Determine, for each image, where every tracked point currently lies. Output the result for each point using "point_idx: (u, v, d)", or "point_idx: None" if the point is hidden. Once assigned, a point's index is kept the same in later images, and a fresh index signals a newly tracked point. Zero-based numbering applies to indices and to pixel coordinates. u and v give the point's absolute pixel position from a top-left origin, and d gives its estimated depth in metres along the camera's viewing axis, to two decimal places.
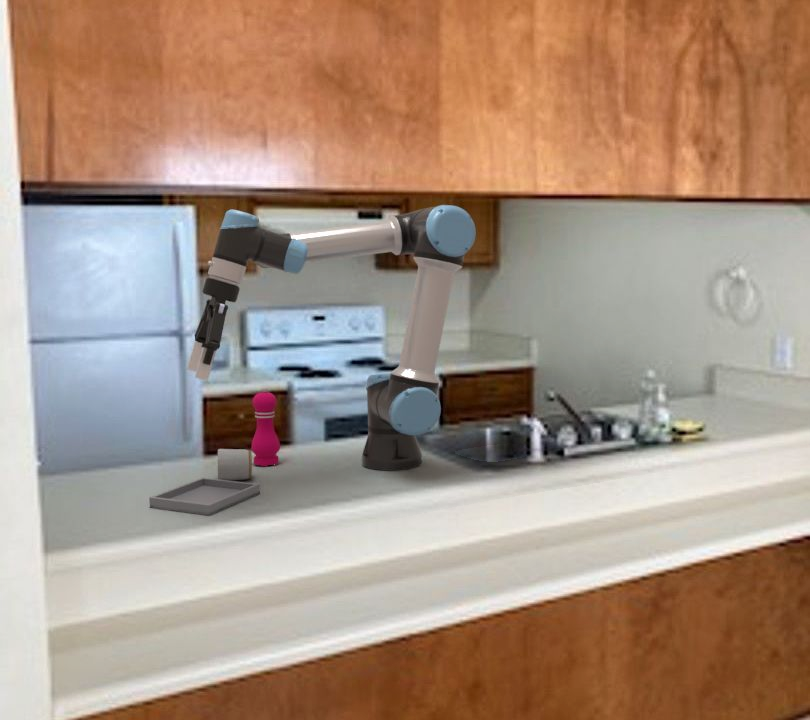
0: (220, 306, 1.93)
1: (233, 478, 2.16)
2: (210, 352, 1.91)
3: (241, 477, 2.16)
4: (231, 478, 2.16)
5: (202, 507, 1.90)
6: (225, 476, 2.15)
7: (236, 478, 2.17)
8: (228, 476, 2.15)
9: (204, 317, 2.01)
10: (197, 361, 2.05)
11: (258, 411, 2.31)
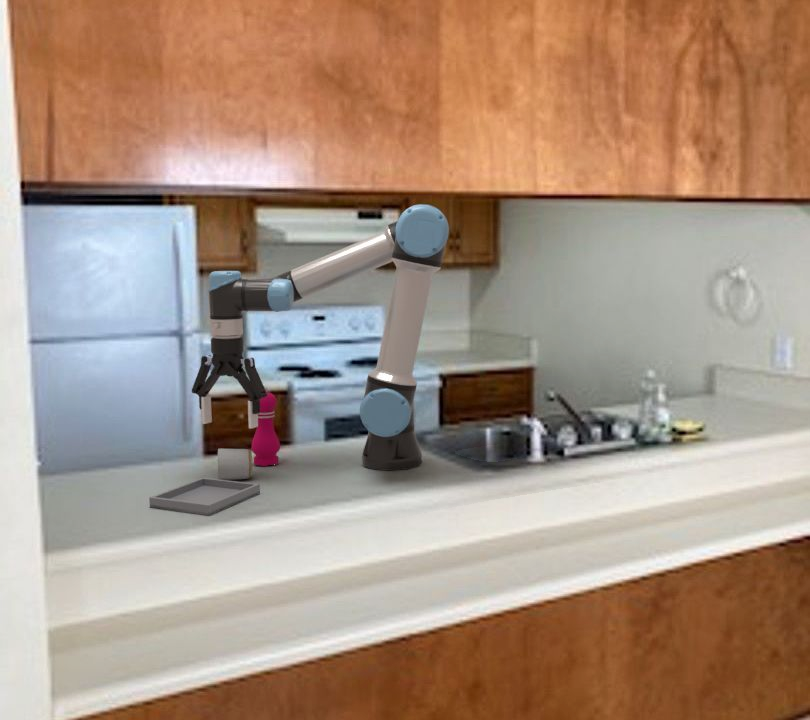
0: (250, 361, 2.13)
1: (233, 478, 2.17)
2: (257, 402, 2.14)
3: (241, 477, 2.17)
4: (231, 478, 2.17)
5: (202, 507, 1.90)
6: (225, 476, 2.16)
7: (236, 478, 2.17)
8: (228, 475, 2.16)
9: (215, 374, 2.17)
10: (208, 413, 2.21)
11: None
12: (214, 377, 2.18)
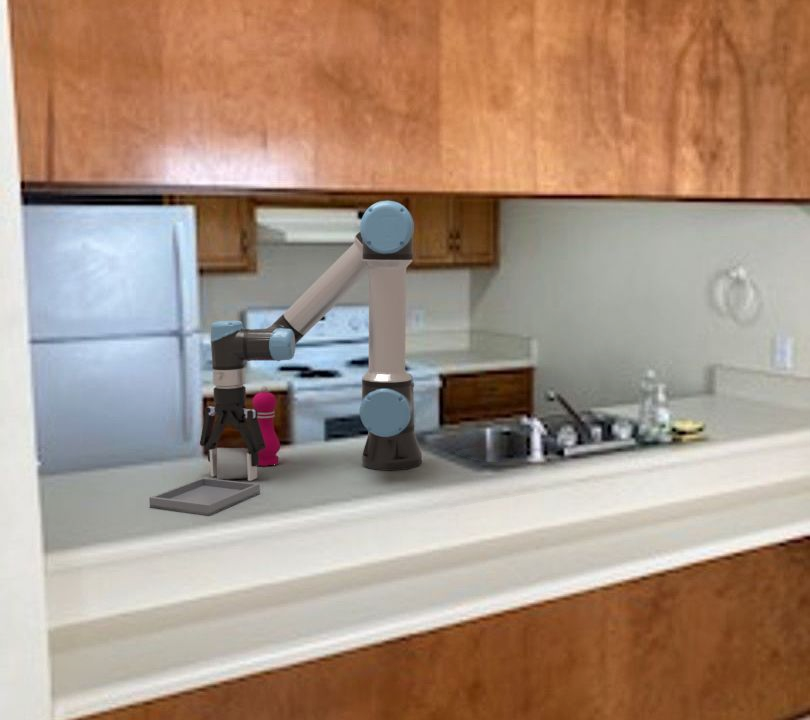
0: (253, 413, 2.15)
1: (232, 477, 2.17)
2: (256, 455, 2.16)
3: (240, 476, 2.17)
4: (230, 477, 2.17)
5: (202, 507, 1.90)
6: (224, 475, 2.16)
7: (235, 477, 2.17)
8: (227, 474, 2.16)
9: (220, 423, 2.18)
10: None
11: (258, 411, 2.31)
12: (219, 427, 2.19)
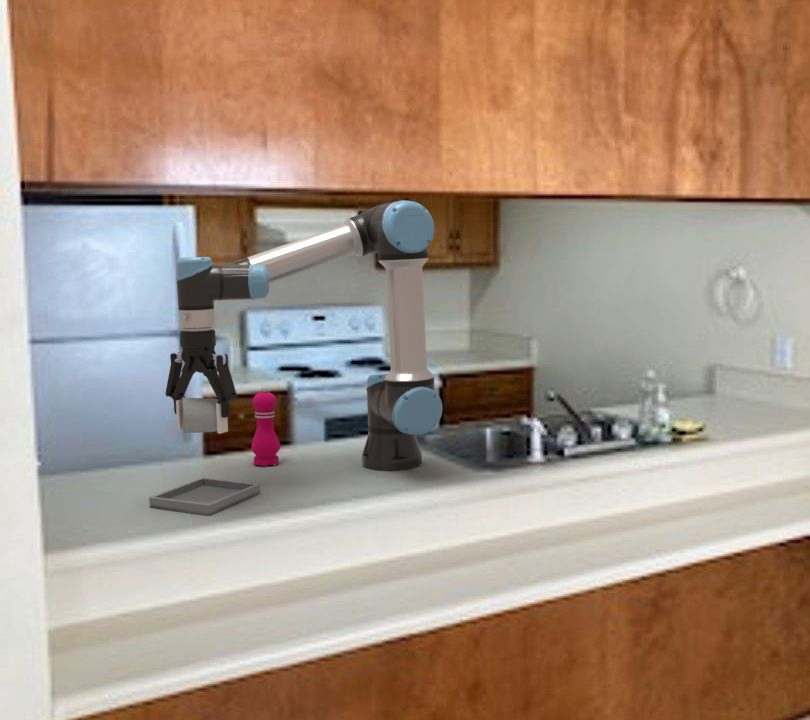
0: (223, 358, 1.94)
1: (200, 429, 1.97)
2: (227, 405, 1.96)
3: (209, 428, 1.97)
4: (198, 429, 1.97)
5: (202, 507, 1.90)
6: (191, 427, 1.96)
7: (204, 429, 1.97)
8: (195, 427, 1.96)
9: (187, 371, 1.97)
10: None
11: (258, 411, 2.31)
12: (186, 375, 1.98)
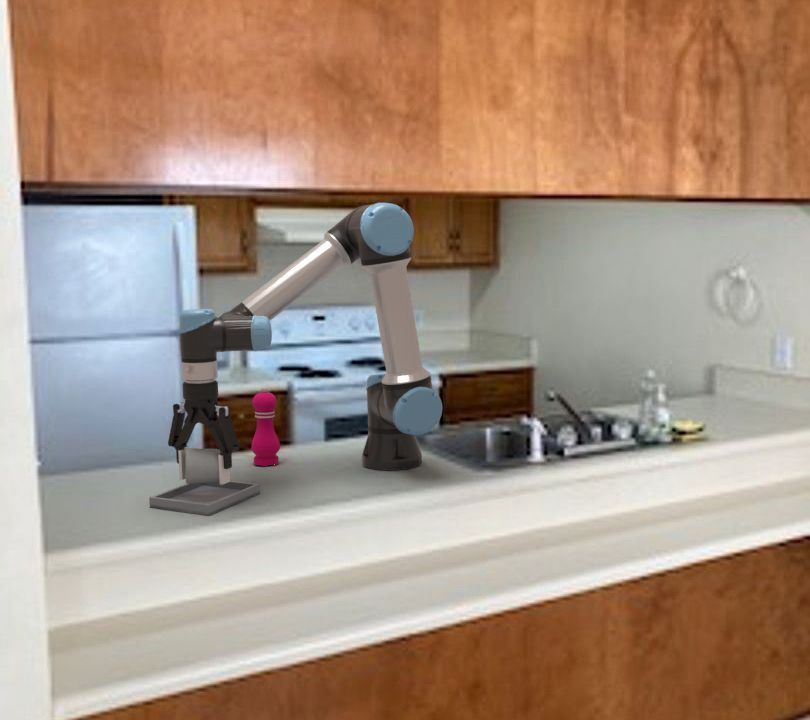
0: (225, 410, 1.95)
1: (203, 480, 1.98)
2: (229, 456, 1.97)
3: (211, 479, 1.98)
4: (200, 480, 1.98)
5: (202, 507, 1.90)
6: (194, 478, 1.97)
7: (206, 480, 1.98)
8: (197, 478, 1.97)
9: (189, 422, 1.99)
10: None
11: (258, 411, 2.31)
12: (189, 426, 2.00)
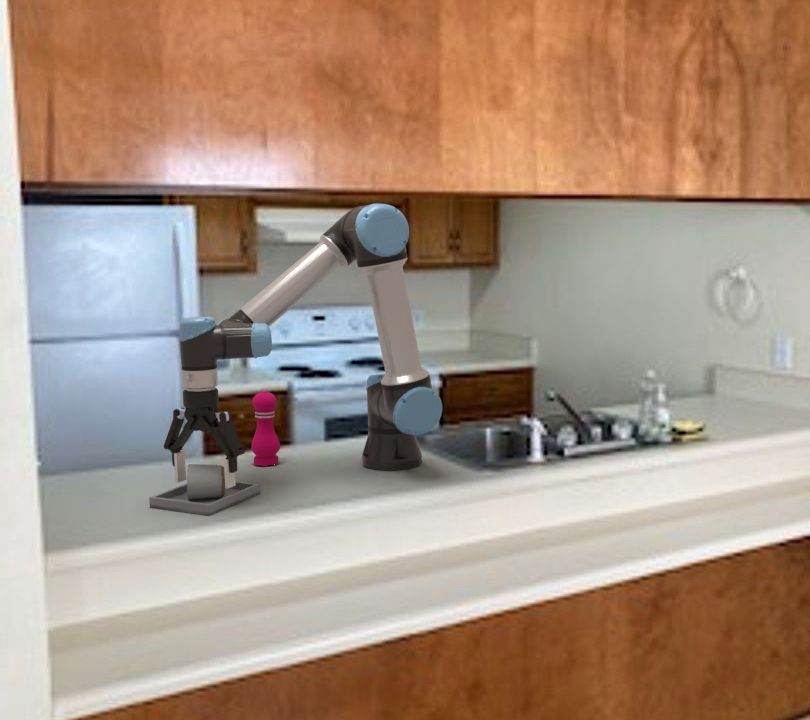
0: (226, 415, 1.96)
1: (204, 496, 1.98)
2: (234, 460, 1.97)
3: (213, 495, 1.99)
4: (202, 496, 1.98)
5: (202, 507, 1.90)
6: (195, 494, 1.97)
7: (208, 496, 1.99)
8: (199, 494, 1.98)
9: (188, 428, 1.99)
10: (182, 470, 2.04)
11: (258, 411, 2.31)
12: (187, 432, 2.00)
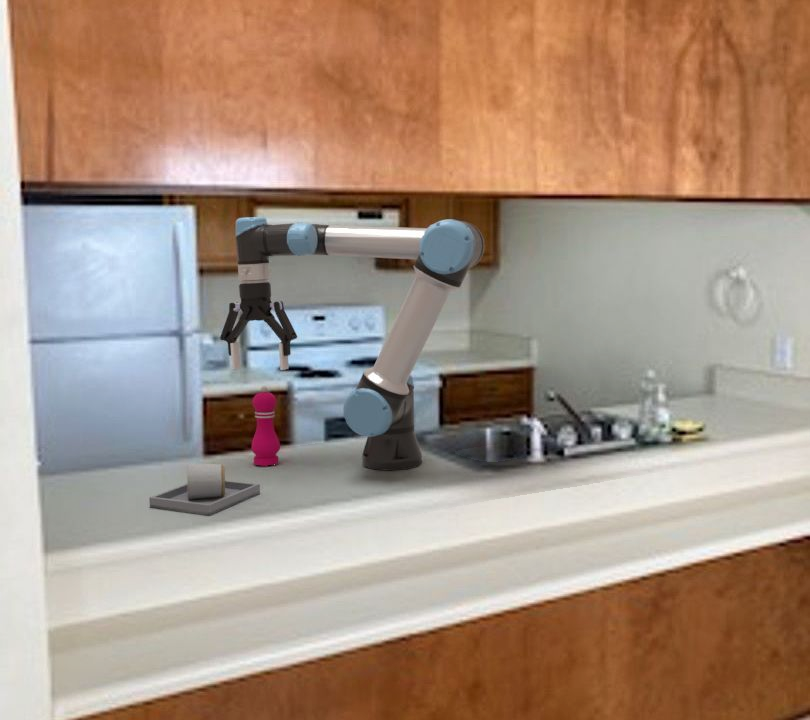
0: (279, 304, 2.19)
1: (204, 496, 1.99)
2: (288, 344, 2.20)
3: (213, 494, 1.99)
4: (202, 496, 1.99)
5: (202, 507, 1.90)
6: (195, 493, 1.98)
7: (208, 496, 1.99)
8: (199, 493, 1.98)
9: (244, 319, 2.21)
10: (238, 359, 2.26)
11: (258, 411, 2.31)
12: (243, 322, 2.22)
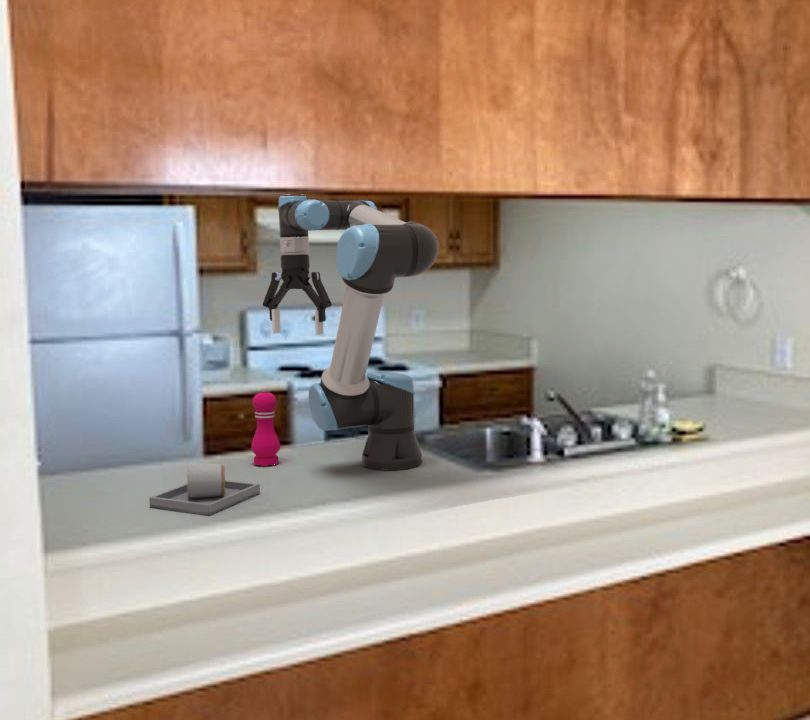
0: (316, 274, 2.40)
1: (204, 495, 1.99)
2: (323, 311, 2.41)
3: (213, 494, 2.00)
4: (202, 495, 1.99)
5: (202, 507, 1.90)
6: (195, 493, 1.98)
7: (208, 495, 2.00)
8: (199, 493, 1.98)
9: (285, 287, 2.43)
10: (278, 324, 2.48)
11: (258, 411, 2.31)
12: (283, 291, 2.44)
